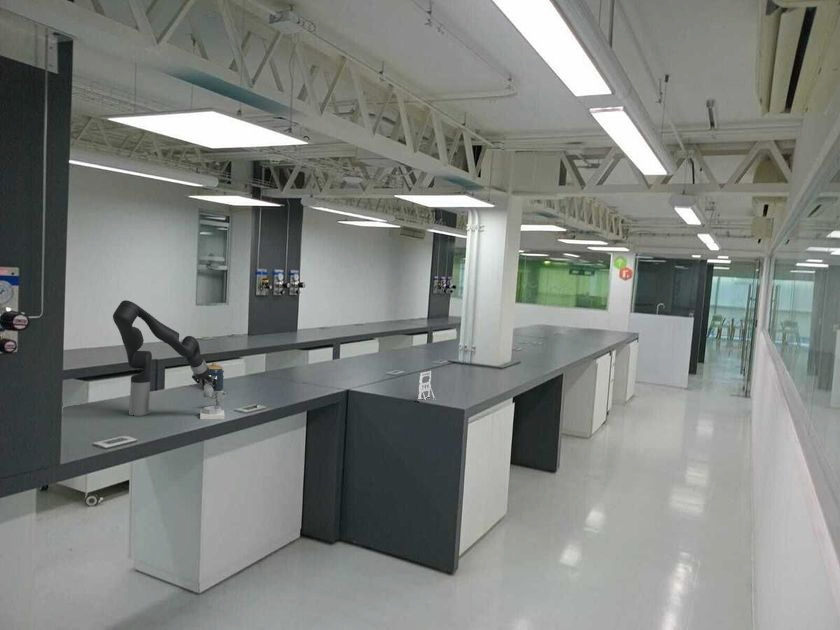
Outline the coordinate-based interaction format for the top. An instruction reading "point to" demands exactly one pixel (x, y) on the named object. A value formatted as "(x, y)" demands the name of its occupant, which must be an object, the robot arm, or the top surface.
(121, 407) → the top surface
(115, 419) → the top surface
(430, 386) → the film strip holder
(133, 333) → the robot arm
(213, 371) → the canister
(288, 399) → the top surface
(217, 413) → the flange plate
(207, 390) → the clear glass jar
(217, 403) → the mechanical component
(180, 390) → the top surface
